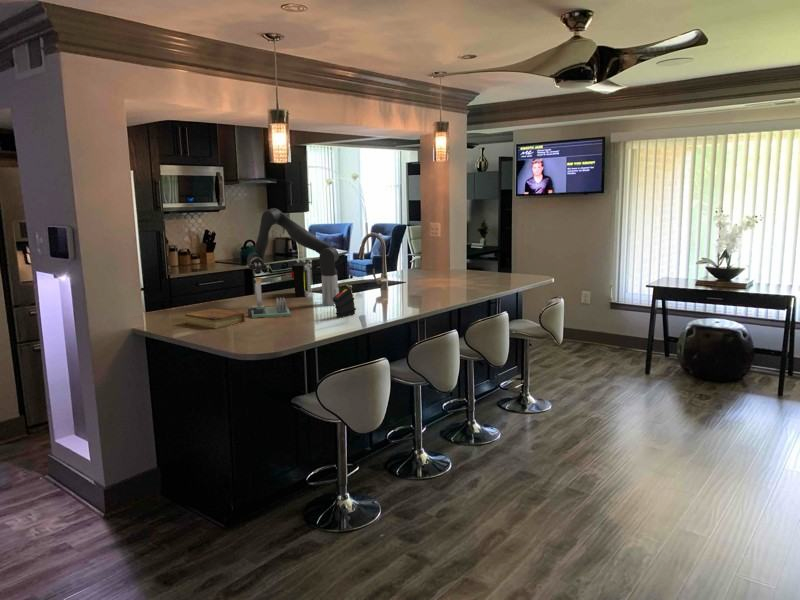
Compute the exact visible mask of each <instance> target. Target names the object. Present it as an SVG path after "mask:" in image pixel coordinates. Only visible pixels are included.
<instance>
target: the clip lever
mask: <svg viewBox="0 0 800 600" xmlns="http://www.w3.org/2000/svg"><path fill="white" fill-rule="evenodd" d="M254 279H255V280H254V281H255V282H256V286H255V287H256V304H257V305H252V306H251V307H256V308H257V309H263V310H264V306H265V305H264V304H263V300H262V282H263V281H262V277H255V278H254Z"/></svg>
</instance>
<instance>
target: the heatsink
mask: <svg viewBox="0 0 800 600" xmlns="http://www.w3.org/2000/svg"><path fill="white" fill-rule="evenodd" d="M263 306H264V311H265V314H266V309H265V307H266V305H263ZM286 306H287V302H286V299H285V297H276V305H275V307H276V309H277V312H278V313H283V312H287V309H286ZM251 310H254V314H263V309H257V308H256V307H252V306H248V307H247V317H248V316H251V317H252V311H251Z"/></svg>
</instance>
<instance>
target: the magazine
mask: <svg viewBox="0 0 800 600" xmlns="http://www.w3.org/2000/svg"><path fill="white" fill-rule="evenodd" d="M352 291H353V290H352V289H351V288H350V287H349V286H348V287H345V288H343V289H342V290H341V291H339V293H338V294H337V295H336V296H335V297H333V302H335V305H334V308H335V310H336V312H335V315H336V317H337V318H340V317H341V318H344V317H343V316H346V317H349V316H348V315H351V316H354V315H353V314H355V315H356V310H357V308H356V306H355V297H354V296H353V293H352Z"/></svg>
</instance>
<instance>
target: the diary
mask: <svg viewBox="0 0 800 600" xmlns="http://www.w3.org/2000/svg"><path fill="white" fill-rule="evenodd" d="M184 316H185V317H186V322H185V323H184V324H185V325H188V326H189V325H190V326H195V327H200V328H206V329H213V330H219V329H223V328H226V327H227V326H228V327H232V326H236V325H239V324H238V323H240V324H243V323H242V322H246V314H245V313H244V312H241V311H233V310H228V309H219V308H213V307H212V308H208V309H204V310H198V311H192V312H187V313H184ZM235 324H236V325H235ZM231 325H232V326H231Z"/></svg>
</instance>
